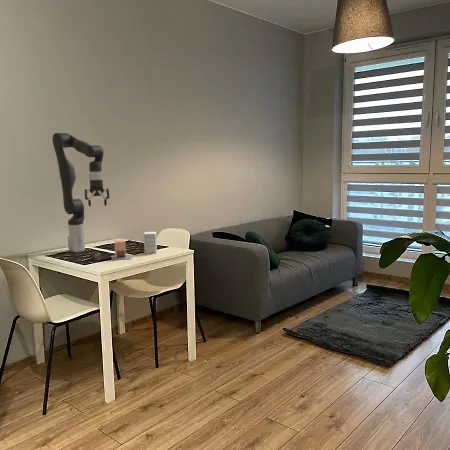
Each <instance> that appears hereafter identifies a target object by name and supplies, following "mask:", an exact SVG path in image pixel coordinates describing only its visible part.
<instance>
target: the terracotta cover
mask: <svg viewBox="0 0 450 450" xmlns="http://www.w3.org/2000/svg"><path fill="white" fill-rule="evenodd" d="M114 254H115V255H114V256H115V257H116V258H117V257H119V256H124V257H125V258H126V255H127V247H126V240H124V239H122V240H114Z"/></svg>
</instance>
